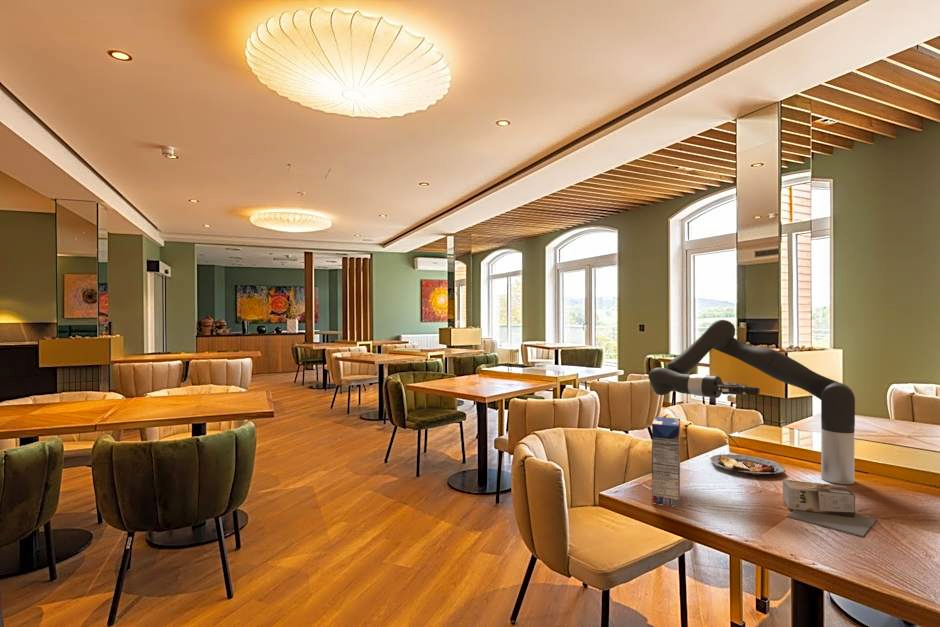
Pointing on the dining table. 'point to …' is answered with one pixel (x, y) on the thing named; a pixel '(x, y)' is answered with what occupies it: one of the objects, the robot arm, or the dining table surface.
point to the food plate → (747, 464)
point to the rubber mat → (836, 521)
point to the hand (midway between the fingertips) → (758, 391)
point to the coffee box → (819, 498)
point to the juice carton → (666, 461)
